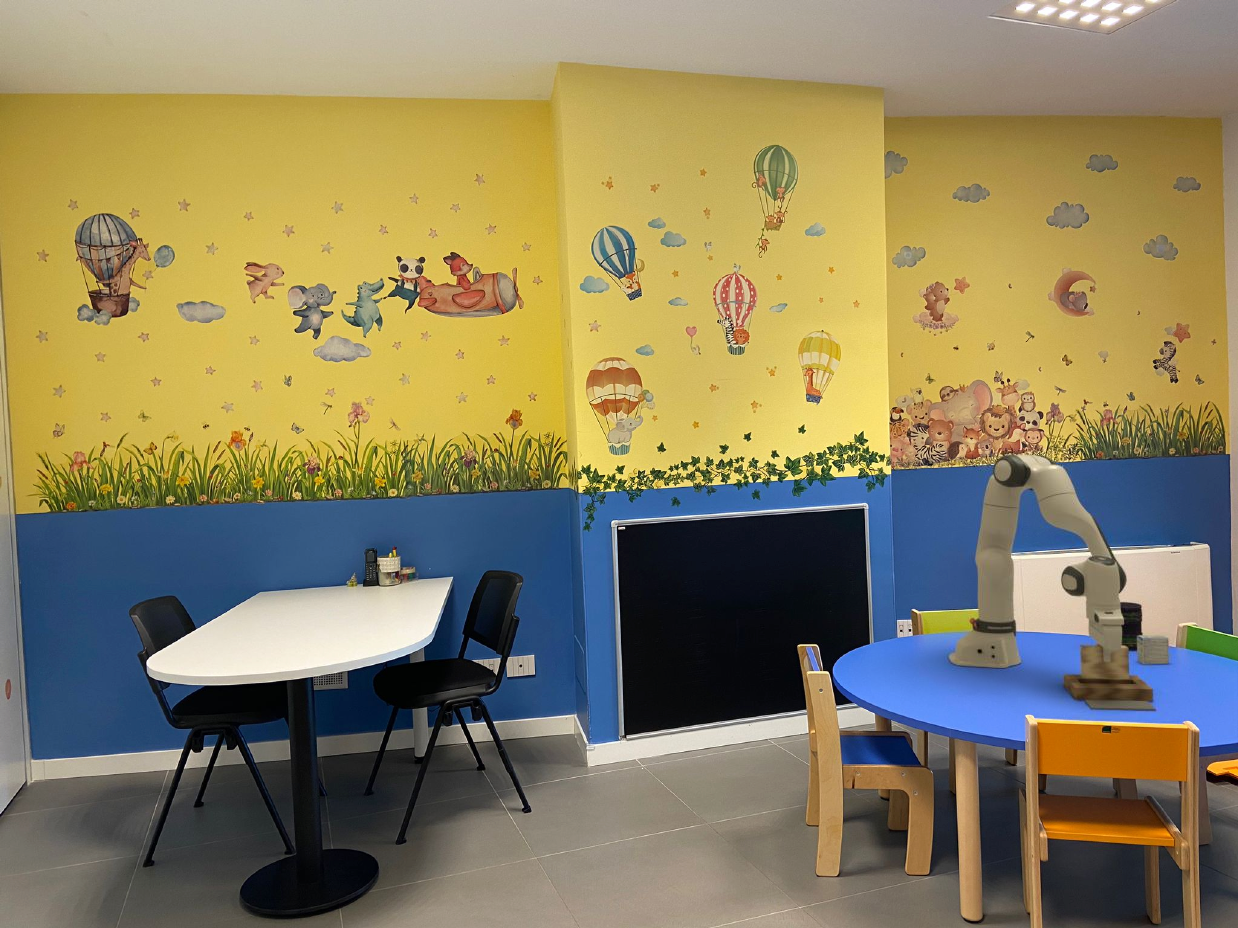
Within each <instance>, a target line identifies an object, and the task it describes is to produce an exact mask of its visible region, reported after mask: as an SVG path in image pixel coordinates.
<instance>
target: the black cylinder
mask: <svg viewBox="0 0 1238 928" xmlns="http://www.w3.org/2000/svg"><path fill="white" fill-rule="evenodd" d="M1120 607H1121V614H1122V616H1123V618H1124V624H1123V625H1121V627H1122V645H1121V646H1127V647H1128V648H1129V652H1137V636H1140V635H1144V633H1143V630H1142V628H1143V627H1142V623H1143V609H1142V608H1143V607H1142V604H1140V603H1136V602H1128V601H1127V602H1126V601H1120Z"/></svg>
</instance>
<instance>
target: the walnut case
mask: <svg viewBox="0 0 1238 928" xmlns="http://www.w3.org/2000/svg"><path fill="white" fill-rule="evenodd" d="M1062 677H1063V681H1062V682H1063V687H1064V688H1065V689H1066V690H1067V691H1068V693H1069V694H1070V695H1071V696H1072V698H1073V699H1074V700H1075V701H1085V700H1117V701H1148V702H1154V689H1153V688H1152V687H1151V686H1150V685H1149V684H1148V683H1146V682H1145V681H1144V680H1143V679H1142V678H1141V677H1139V676H1138V675H1135V674H1134V675H1133V674H1131V675H1130V674H1129V679H1106V678H1083V677H1082V676H1081V674H1072V673H1071V674H1064V673H1063V674H1062Z"/></svg>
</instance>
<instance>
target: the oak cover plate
mask: <svg viewBox="0 0 1238 928" xmlns="http://www.w3.org/2000/svg"><path fill="white" fill-rule="evenodd" d="M1079 648H1080V649H1079V650H1080V652H1079V653H1080V675H1081V676H1082V677H1083V678H1106V679H1129V675H1130V653H1129V652H1130V651H1129V648H1128V647H1127V646H1121V650H1120V651H1119V652H1112V654H1111V662H1104V661H1103V656H1102V655H1103V647H1101V646H1100V645H1097V644H1080V647H1079Z"/></svg>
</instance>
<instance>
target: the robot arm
mask: <svg viewBox="0 0 1238 928" xmlns="http://www.w3.org/2000/svg"><path fill="white" fill-rule="evenodd" d="M992 473H993V474H991V476H990V477H989V479H988V483H987V485H986V489H985V491H984V497H983V506H982V511H981V512H982V514H981V520H980V528H979V533H978V538H977V539H978V540H977V546H976V550H975V557H974V560H975V564H976V567H977V608H978V610H977V611H978V613H977V615H978V618H976V619H975V618H974V617H971V618H970V619H969V623H970V624H971V625H972V630H970V631H969V632H968V633H966V634H965V635H963V636H962V637H961V638H959V639H958V640H957V643H956V645H955V652H952V653H950V654H949V656H948V660H949V661H950V663H952V664H953V665H956V666H959V667H960V666H961V667H963V666H964V667H978V668H994V669H995V668H998V669H1006V668H1008V667H1011V666H1017V665H1019V664H1021V662H1022V660H1021V657H1020V654H1019V650H1018V645H1017V640H1016V637H1017V622H1016V619H1015V612H1014V611H1015V609H1014V607H1015V606H1014V590H1015V589H1014V585H1015V584H1014V582H1015V578H1014V576H1015V564H1014V560H1013V558H1012V553H1013V546H1014V542H1015V536H1016V534H1017V533H1016V532H1017V528H1018V527H1017V526H1018V520H1019V514H1020V513H1019V512H1020V502H1021V496H1022V494H1023V492H1024V491H1026V490H1029V491H1031V492H1032V491H1033V492H1034V493H1035V497H1036V500H1037V503H1038V507H1039V511H1040V514H1041V515H1042V517H1043V519H1044V520H1045V521H1046V522H1047V523H1048V524H1050V525H1051V526H1053V527H1054V528H1055V527H1056V528H1058V529H1062V530H1065V531H1068V532H1071V533H1073V534H1075V535H1077V536H1079V537H1080V538H1081V539H1082V540H1083V541H1084V543H1085V545H1086V546H1087V548H1088V551H1089V553H1090V555H1091V556H1089V557H1087V559H1086V560H1085V561H1083V562H1080V563H1077V564H1071V565H1067V566H1066V567H1065V568H1064V569H1063V570H1062V573H1061V577H1060V580H1061V581H1060V583H1061V586H1062V589H1063V590H1064V591H1065V593H1067V594H1068V595H1070V596H1072V597H1077V598H1078V597H1080V598H1081V597H1085V599H1086V600H1085V613H1086V614H1085V615H1086V616H1085V617H1086V619H1088V628H1087V629H1088V631H1087V632H1088V636H1089V637H1090V638H1091V639H1092V640H1093V641H1095V642H1096V644H1095V645H1100V646H1101V647H1103V655H1102V656H1103V661H1104V662H1111V654H1112V652H1119V651H1120V650H1121V645H1122V627H1121V625H1123V624H1124V618H1123V616H1122V614H1121V607H1120V602H1121V600H1120V596H1119V595H1120V594H1121V593H1122V591H1124V588H1125V587H1126V585H1127V575H1126V571H1125V570H1124V568H1123V567H1122V566H1121V565H1120V563H1119V561H1118V560H1117V558H1116V557H1115V555H1114V552H1113V551H1112V549H1111V546H1110V545H1109V543H1108V540H1107V539H1106V536H1105V535H1104V533H1103V530H1102V529H1101V527H1100V524H1099V523H1098V521H1097V520H1096V518H1095V517H1094V515H1092V514H1091V513H1090V512H1088V511H1087V510H1086V509H1085V508H1084V506H1083V504H1081V502H1080V501H1079V497H1078V496H1077V492H1076V490H1075V487H1074V484H1073V483H1072V480H1071V478H1070V476H1069V475H1068V473H1067V471H1066V469H1065V468H1064V467H1063V466H1061V465H1058V464H1057V463H1056V462H1055V461H1054V460H1053V459H1051V458H1049V457H1046V456H1043V455H1034V454H1006V455H1003V456H1001V457H999V458H997V459H996V461H995V463H994V464H993V467H992Z"/></svg>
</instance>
